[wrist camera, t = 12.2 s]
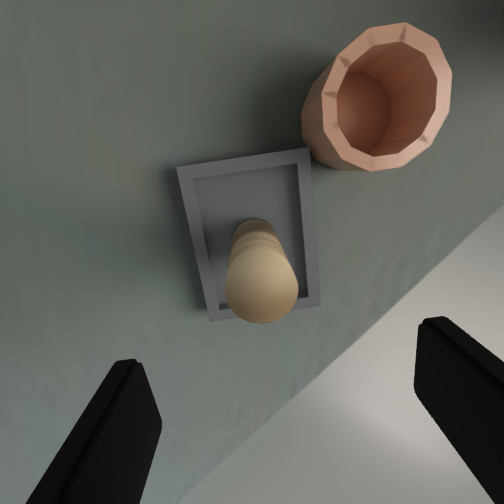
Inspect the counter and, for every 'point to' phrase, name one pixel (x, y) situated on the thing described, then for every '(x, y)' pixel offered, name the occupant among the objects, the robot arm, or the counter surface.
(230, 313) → the tray
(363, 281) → the counter surface
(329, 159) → the cup
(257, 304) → the peg
